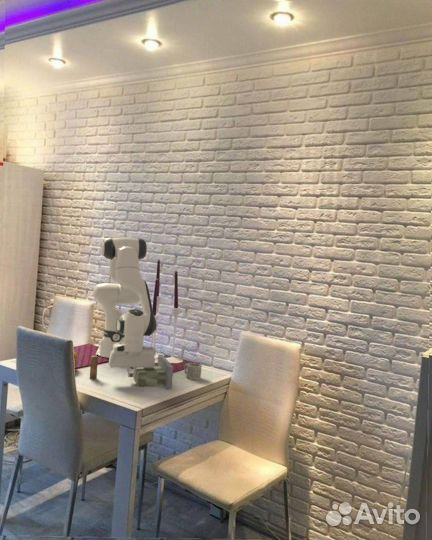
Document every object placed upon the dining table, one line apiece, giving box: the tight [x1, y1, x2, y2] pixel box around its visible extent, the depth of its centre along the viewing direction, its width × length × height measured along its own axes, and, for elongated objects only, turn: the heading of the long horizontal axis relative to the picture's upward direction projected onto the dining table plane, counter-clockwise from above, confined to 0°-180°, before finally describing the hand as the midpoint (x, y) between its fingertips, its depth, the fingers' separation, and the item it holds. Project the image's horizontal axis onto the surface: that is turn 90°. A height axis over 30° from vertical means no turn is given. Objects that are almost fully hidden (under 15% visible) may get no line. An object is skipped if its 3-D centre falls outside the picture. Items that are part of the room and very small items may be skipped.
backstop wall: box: [157, 354, 174, 391], centre depth 221 cm, size 22×2×10 cm, turn 19°
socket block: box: [132, 365, 166, 388], centre depth 219 cm, size 12×12×6 cm
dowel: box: [89, 355, 99, 380], centre depth 217 cm, size 3×3×10 cm
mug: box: [183, 362, 202, 381], centre depth 232 cm, size 10×7×7 cm, turn 46°
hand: (130, 376), depth 216 cm, fingers closed
